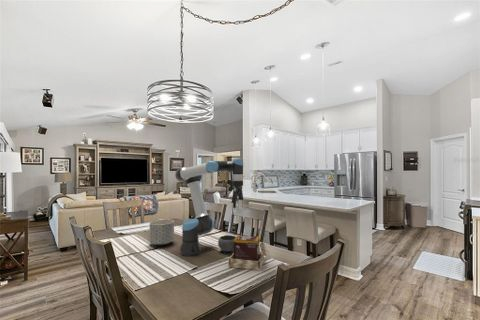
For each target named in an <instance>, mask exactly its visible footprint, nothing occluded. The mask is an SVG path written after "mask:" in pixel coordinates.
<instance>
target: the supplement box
mask: <svg viewBox="0 0 480 320" xmlns="http://www.w3.org/2000/svg"><path fill="white" fill-rule="evenodd" d="M235 237H236V238H235V239H234V251H233V253H234V259H242V260H252V261H259V253H260V236H258V235H257V236H255V235H241V234H238V235H236V236H235Z"/></svg>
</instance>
